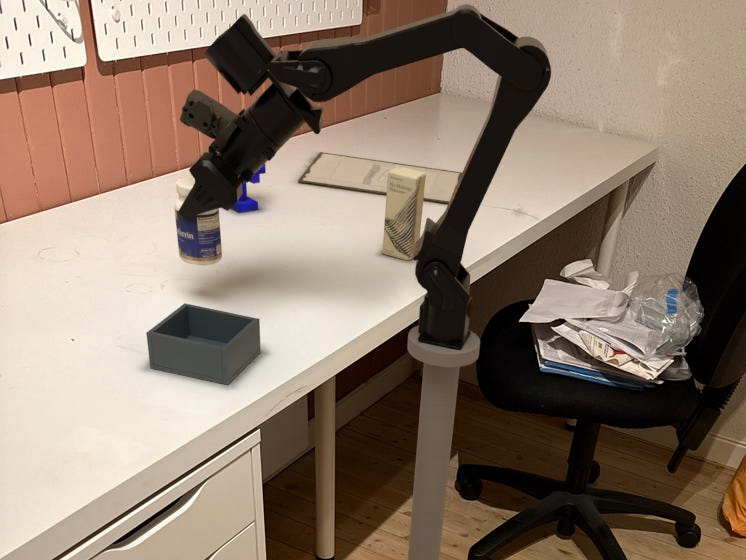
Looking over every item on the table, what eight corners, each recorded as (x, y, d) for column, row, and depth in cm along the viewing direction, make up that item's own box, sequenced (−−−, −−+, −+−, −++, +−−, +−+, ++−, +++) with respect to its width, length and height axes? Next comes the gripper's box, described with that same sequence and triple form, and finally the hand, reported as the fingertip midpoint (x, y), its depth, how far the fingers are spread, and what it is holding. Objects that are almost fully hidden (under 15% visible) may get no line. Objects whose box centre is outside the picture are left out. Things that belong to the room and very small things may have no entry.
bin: (260, 352, 125) (259, 318, 122) (227, 385, 117) (225, 349, 114) (187, 337, 125) (184, 302, 123) (150, 368, 118) (145, 332, 115)
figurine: (267, 204, 169) (265, 129, 161) (260, 217, 164) (257, 141, 156) (224, 198, 169) (220, 123, 161) (215, 212, 163) (210, 135, 155)
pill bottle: (171, 255, 131) (163, 178, 125) (208, 249, 135) (201, 173, 128) (193, 269, 128) (186, 191, 122) (230, 262, 132) (225, 185, 125)
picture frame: (463, 173, 197) (319, 152, 197) (464, 172, 197) (319, 151, 196) (454, 204, 181) (297, 182, 180) (454, 203, 180) (297, 180, 180)
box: (381, 254, 157) (385, 171, 148) (391, 247, 160) (395, 164, 152) (411, 261, 156) (416, 178, 147) (421, 254, 159) (426, 171, 151)
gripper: (232, 55, 124) (155, 138, 130) (200, 85, 109) (116, 177, 116) (295, 129, 129) (218, 205, 136) (272, 167, 115) (188, 250, 122)
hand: (186, 208), depth 127 cm, fingers closed on pill bottle, 6 cm apart
